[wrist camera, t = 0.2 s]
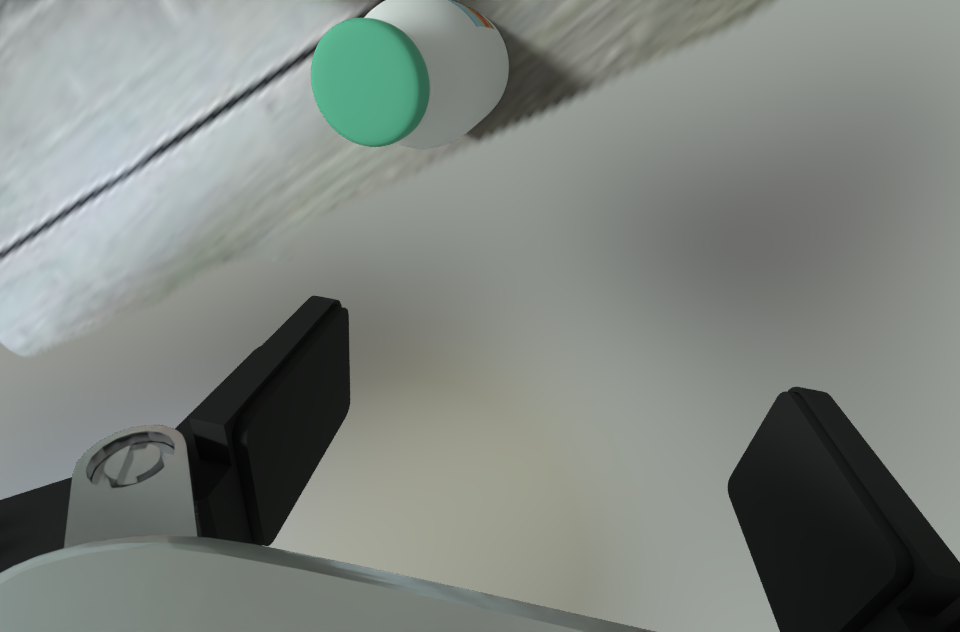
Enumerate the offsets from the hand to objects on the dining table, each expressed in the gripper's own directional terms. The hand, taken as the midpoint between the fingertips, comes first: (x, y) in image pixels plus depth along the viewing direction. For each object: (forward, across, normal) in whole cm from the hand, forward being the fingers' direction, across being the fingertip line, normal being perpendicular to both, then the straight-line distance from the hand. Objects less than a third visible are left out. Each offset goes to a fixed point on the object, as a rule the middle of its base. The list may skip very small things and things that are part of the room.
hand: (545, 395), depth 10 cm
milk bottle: (+31, +8, -4) cm, 33 cm away
